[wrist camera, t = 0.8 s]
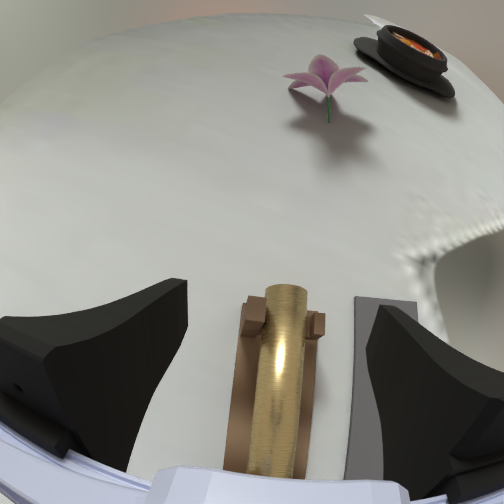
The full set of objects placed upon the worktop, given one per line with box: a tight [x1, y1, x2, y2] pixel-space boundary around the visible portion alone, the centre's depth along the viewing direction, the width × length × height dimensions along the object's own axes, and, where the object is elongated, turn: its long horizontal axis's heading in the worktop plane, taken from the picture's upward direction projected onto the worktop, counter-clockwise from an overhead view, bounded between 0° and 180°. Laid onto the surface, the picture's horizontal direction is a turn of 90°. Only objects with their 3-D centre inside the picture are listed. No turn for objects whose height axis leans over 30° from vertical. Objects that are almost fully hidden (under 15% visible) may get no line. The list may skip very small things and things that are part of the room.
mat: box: [344, 296, 418, 481], centre depth 23 cm, size 21×7×1 cm, turn 174°
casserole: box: [354, 25, 455, 97], centre depth 48 cm, size 25×19×8 cm
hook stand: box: [223, 296, 325, 480], centre depth 19 cm, size 17×6×6 cm, turn 174°
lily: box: [282, 55, 368, 123], centre depth 37 cm, size 12×12×10 cm
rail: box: [246, 284, 307, 479], centre depth 18 cm, size 17×3×3 cm, turn 174°
